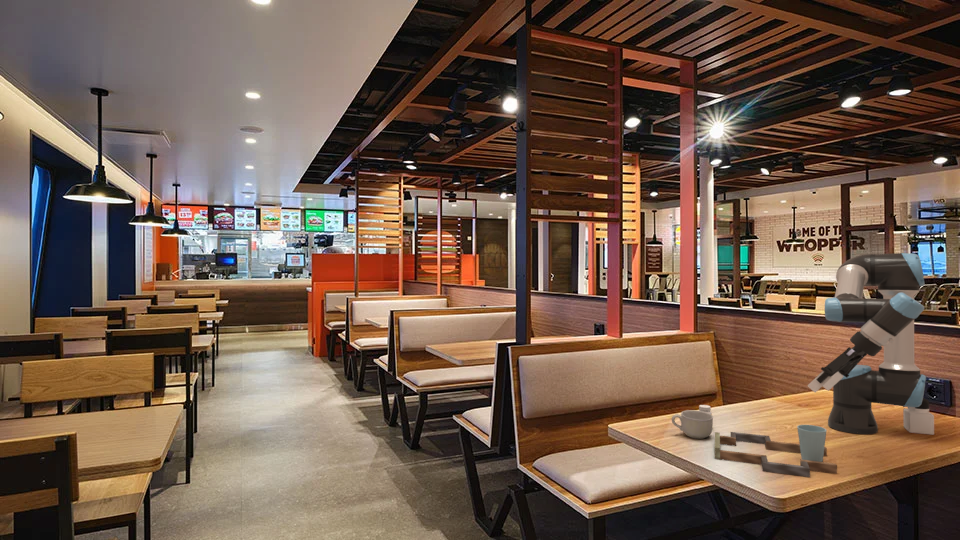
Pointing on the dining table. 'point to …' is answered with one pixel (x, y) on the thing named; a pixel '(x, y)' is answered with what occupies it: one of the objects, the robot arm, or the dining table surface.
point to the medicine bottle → (919, 419)
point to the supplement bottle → (705, 408)
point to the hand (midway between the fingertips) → (818, 388)
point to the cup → (812, 442)
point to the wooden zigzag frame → (762, 459)
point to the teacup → (695, 423)
